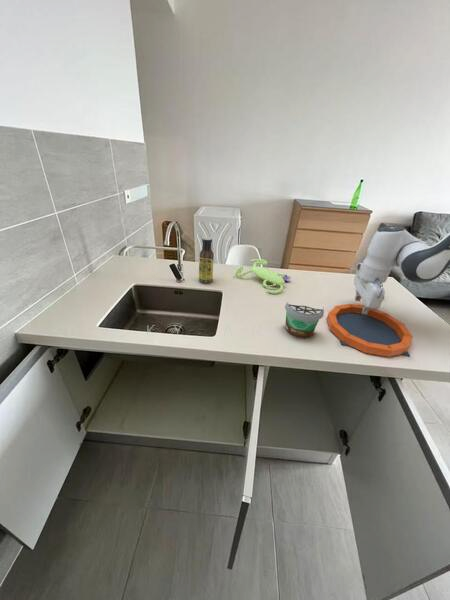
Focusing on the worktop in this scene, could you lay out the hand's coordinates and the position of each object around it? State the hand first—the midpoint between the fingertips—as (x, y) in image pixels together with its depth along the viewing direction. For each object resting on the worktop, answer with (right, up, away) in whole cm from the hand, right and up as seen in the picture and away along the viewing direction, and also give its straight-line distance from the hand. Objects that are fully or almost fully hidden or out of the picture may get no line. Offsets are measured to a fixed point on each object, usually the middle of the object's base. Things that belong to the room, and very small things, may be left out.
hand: (360, 306), depth 92 cm
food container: (-27, -9, -11) cm, 30 cm away
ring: (-3, -8, -8) cm, 12 cm away
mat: (-3, -8, -8) cm, 12 cm away
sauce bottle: (-60, +11, +18) cm, 64 cm away
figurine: (-34, +12, +23) cm, 42 cm away
